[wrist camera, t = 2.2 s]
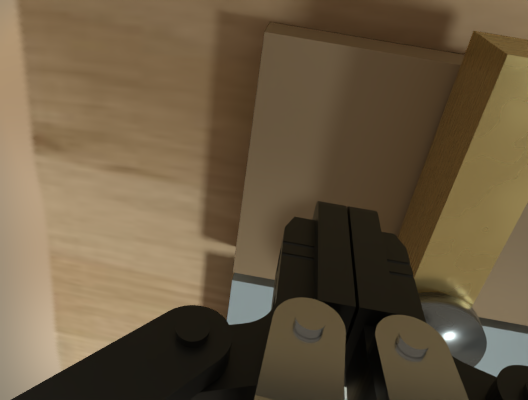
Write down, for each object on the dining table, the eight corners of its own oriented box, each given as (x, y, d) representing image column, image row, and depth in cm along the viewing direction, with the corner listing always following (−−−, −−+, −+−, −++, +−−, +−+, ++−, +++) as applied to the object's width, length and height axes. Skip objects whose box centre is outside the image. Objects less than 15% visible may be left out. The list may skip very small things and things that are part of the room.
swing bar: (440, 315, 26) (462, 390, 22) (356, 300, 26) (362, 371, 22) (571, 47, 18) (647, 83, 14) (449, 26, 18) (487, 56, 14)
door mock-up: (685, 91, 21) (800, 143, 16) (451, 448, 38) (472, 530, 33) (269, 22, 22) (253, 51, 17) (217, 404, 38) (201, 478, 33)
